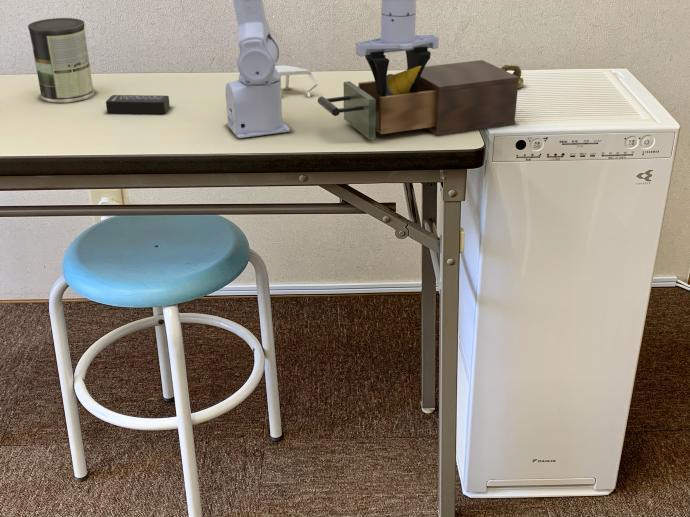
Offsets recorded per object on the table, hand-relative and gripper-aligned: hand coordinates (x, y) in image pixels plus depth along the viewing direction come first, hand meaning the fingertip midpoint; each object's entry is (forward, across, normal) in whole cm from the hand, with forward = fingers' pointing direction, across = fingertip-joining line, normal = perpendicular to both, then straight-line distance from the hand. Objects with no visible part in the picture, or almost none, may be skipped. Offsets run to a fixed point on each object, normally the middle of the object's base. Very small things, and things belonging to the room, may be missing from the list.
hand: (396, 93), depth 144 cm
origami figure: (+7, -11, +27) cm, 30 cm away
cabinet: (+6, +13, 0) cm, 14 cm away
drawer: (+6, -3, 0) cm, 6 cm away
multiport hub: (+6, -40, +28) cm, 50 cm away
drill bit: (+2, +1, 0) cm, 2 cm away
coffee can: (+6, -52, +43) cm, 68 cm away
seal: (+7, +28, +17) cm, 34 cm away
